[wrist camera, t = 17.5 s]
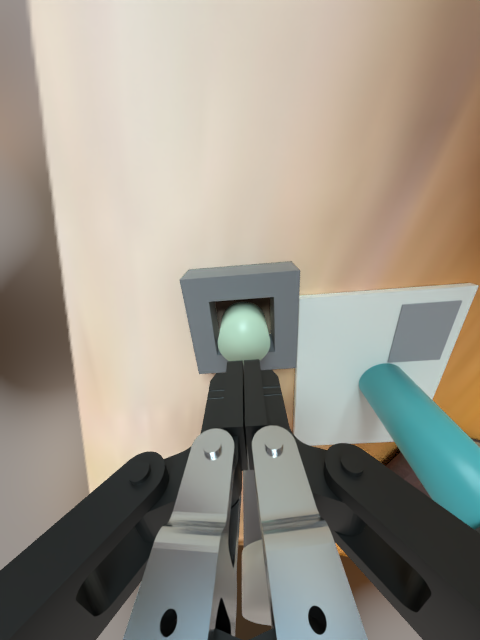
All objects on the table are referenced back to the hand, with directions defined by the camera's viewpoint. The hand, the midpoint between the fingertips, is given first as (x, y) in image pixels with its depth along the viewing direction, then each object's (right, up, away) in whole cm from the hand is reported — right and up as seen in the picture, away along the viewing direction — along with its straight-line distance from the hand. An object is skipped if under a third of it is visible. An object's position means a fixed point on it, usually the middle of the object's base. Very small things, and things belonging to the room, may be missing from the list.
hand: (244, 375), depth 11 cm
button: (0, +2, +5) cm, 5 cm away
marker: (+12, -3, +8) cm, 14 cm away
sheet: (+11, -2, +9) cm, 14 cm away
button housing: (0, +3, +6) cm, 7 cm away
